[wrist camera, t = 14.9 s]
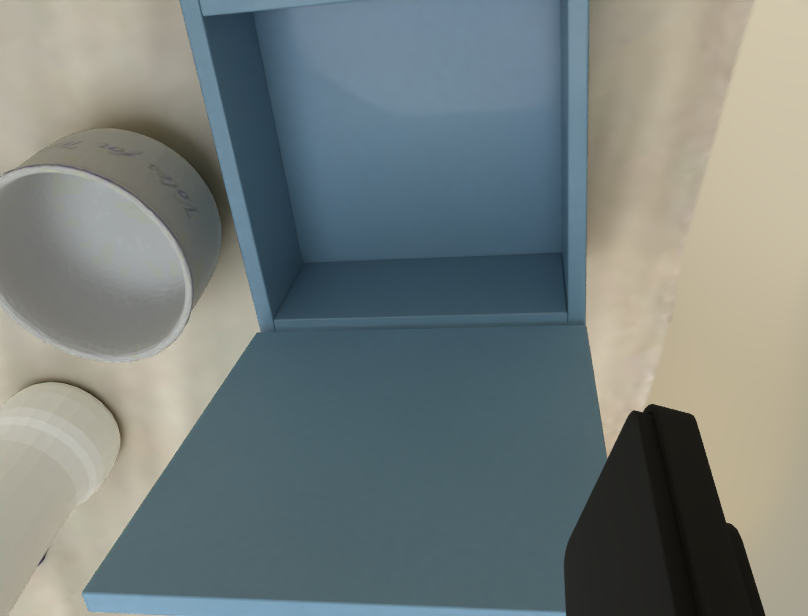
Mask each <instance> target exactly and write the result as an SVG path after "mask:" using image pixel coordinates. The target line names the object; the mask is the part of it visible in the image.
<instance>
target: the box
mask: <svg viewBox="0 0 808 616" xmlns="http://www.w3.org/2000/svg"><path fill="white" fill-rule="evenodd" d="M180 4H181V9H182V13H183V17H184V21H185V25H186V29H187V33H188V37H189V41H190V45H191V49H192V53H193V57H194V61H195V66H196V70H197V74H198V78H199V82H200V86H201V90H202V94H203V98H204V102H205V106H206V110H207V114H208V119H209V123H210V127H211V131H212V135H213V139H214V143H215V147H216V151H217V155H218V159H219V163H220V167H221V172H222V176H223V180H224V184H225V188H226V192H227V196H228V200H229V204H230V208H231V212H232V216H233V220H234V225H235V229H236V233H237V237H238V241H239V245H240V249H241V253H242V257H243V261H244V265H245V269H246V273H247V278H248V282H249V286H250V290H251V294H252V298H253V302H254V306H255V310H256V314H257V318H258V322H259V326H260V331H261V332H303V331H347V330H391V329H435V328H479V327H523V326H567V325H585V324H586V243H587V157H588V71H589V0H180Z"/></svg>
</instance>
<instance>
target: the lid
mask: <svg viewBox="0 0 808 616" xmlns="http://www.w3.org/2000/svg"><path fill="white" fill-rule="evenodd" d="M606 461H607V454H606V448H605V441H604V435H603V429H602V422H601V416H600V409H599V403H598V397H597V390H596V384H595V378H594V371H593V365H592V358H591V352H590V346H589V339H588V333H587V327H586V325H567V326H523V327H479V328H435V329H391V330H347V331H303V332H259V333H256V335H255V336H254V338H253V339H252V341H251V342H250V344H249V345H248V347H247V348H246V349H245V351H244V352H243V354H242V355H241V357H240V358H239V360H238V361H237V363H236V364H235V366H234V367H233V369H232V370H231V372H230V373H229V375H228V376H227V378H226V379H225V381H224V382H223V384H222V385H221V387H220V388H219V390H218V391H217V393H216V394H215V396H214V397H213V399H212V400H211V401H210V403H209V404H208V406H207V407H206V409H205V410H204V412H203V413H202V415H201V416H200V418H199V419H198V421H197V422H196V424H195V425H194V427H193V428H192V430H191V431H190V433H189V434H188V436H187V437H186V439H185V440H184V442H183V443H182V445H181V446H180V448H179V449H178V451H177V452H176V454H175V455H174V456H173V458H172V459H171V461H170V462H169V464H168V465H167V467H166V468H165V470H164V471H163V473H162V474H161V476H160V477H159V479H158V480H157V482H156V483H155V485H154V486H153V488H152V489H151V491H150V492H149V494H148V495H147V497H146V498H145V500H144V501H143V503H142V504H141V506H140V507H139V508H138V510H137V511H136V513H135V514H134V516H133V517H132V519H131V520H130V522H129V523H128V525H127V526H126V528H125V529H124V531H123V532H122V534H121V535H120V537H119V538H118V540H117V541H116V543H115V544H114V546H113V547H112V549H111V550H110V552H109V553H108V555H107V556H106V558H105V559H104V561H103V562H102V563H101V565H100V566H99V568H98V569H97V571H96V572H95V574H94V575H93V577H92V578H91V580H90V581H89V583H88V584H87V586H86V587H85V589H84V590H83V592H82V595H83V598H84V601H85V603H86V606H87V609H88V611H90V612H105V613H127V614H150V615H172V616H566V605H565V584H564V556H565V551H566V547H567V543H568V541H569V538H570V536H571V534H572V532H573V530H574V528H575V526H576V524H577V522H578V519H579V517H580V515H581V513H582V511H583V509H584V507H585V505H586V503H587V501H588V499H589V497H590V494H591V492H592V490H593V488H594V486H595V484H596V482H597V480H598V478H599V476H600V474H601V472H602V469H603V467H604V465H605V463H606Z"/></svg>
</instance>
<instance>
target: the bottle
mask: <svg viewBox="0 0 808 616" xmlns="http://www.w3.org/2000/svg"><path fill="white" fill-rule="evenodd" d="M119 451H120V433H119V429H118V425H117V423H116V421H115V419H114V417H113V415H112V414H111V412H110V411H109V410H108V409H107V408H106V407H105V406H104V404H103V403H102V402H100V401H99V400H98V399H96V398H95V397H94V396H92V395H91V394H89V393H87V392H85V391H84V390H82V389H80V388H78V387H75V386H71V385H68V384H65V383H56V382H47V383H40V384H35V385H31V386H29V387H27V388H25V389H23V390H21V391H19V392H18V393H16V394H15V395H13V396H12V397H11V398H9V399H8V401H7V402H6V403H5V404H4V405H3V406H2V407H1V408H0V616H8V615H9V613H10V612H11V610H12V608H13V607H14V605H15V603H16V602H17V600H18V598H19V597H20V595H21V593H22V591H23V590H24V588H25V586H26V585H27V583H28V581H29V580H30V578H31V576H32V575H33V573H34V571H35V569H36V568H37V566H38V564H39V563H40V561H41V559H42V558H43V556H44V554H45V553H46V551H47V549H48V547H49V546H50V544H51V542H52V541H53V539H54V537H55V536H56V534H57V532H58V531H59V529H60V527H61V526H62V524H63V523H64V521H65V520H66V519H67V517H68V516H69V514H70V513H71V511H72V510H73V509H74V508H75V507H76V506H78V505H79V504H81V503H83V502H85V501H86V500H87V499H88V498H89V497H90V496H92V495H93V494H94V493H95V492H96V491H97V490H98V489H99V488H100V487H101V485H102V484H103V482H104V480H105V479H106V477H107V476H108V474H109V473H110V471H111V469H112V467H113V466H114V464H115V461H116V459H117V456H118V453H119Z"/></svg>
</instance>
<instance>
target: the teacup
mask: <svg viewBox="0 0 808 616" xmlns="http://www.w3.org/2000/svg"><path fill="white" fill-rule="evenodd" d="M221 242H222V231H221V222H220V216H219V213H218V209H217V206H216V203H215V200H214V198H213V196H212V194H211V192H210V190H209V188H208V187H207V185H206V183H205V182H204V181H203V179H202V178H201V176H200V175H199V174H198V173H197V171H196V170H195V169H194V168H193V167H192V166H191V165H190V164H189V163H188V162H187V161H186V160H185V159H184V158H182V157H181V156H180V155H179V154H178V153H176V152H175V151H174V150H172V149H171V148H169V147H168V146H166V145H164V144H163V143H161V142H159V141H157V140H155V139H153V138H150V137H148V136H145V135H142V134H139V133H136V132H132V131H127V130H121V129H115V128H100V129H89V130H85V131H80V132H77V133H73V134H71V135H68V136H66V137H64V138H62V139H60V140H58V141H56V142H54V143H52V144H50V145H49V146H47V147H46V148H44V149H43V150H41V151H39V152H38V153H37V154H35V155H34V156H32V157H31V158H30V159H28V160H27V161H25V162H24V163H23V164H21V165H20V166H19V167H17V168H16V169H14V170H11V171H8V172H6V173H5V174H3V175H2V176H0V306H1V307H2V308H3V309H4V311H5V312H6V313H7V314H8V315H9V316H10V317H11V318H12V319H14V320H15V321H16V322H17V323H18V324H19V325H21V326H22V327H23V328H24V329H26V330H27V331H29V332H30V333H31V334H33V335H34V336H36V337H38V338H39V339H41V340H42V341H43V342H45V343H48V344H50V345H51V346H53V347H55V348H57V349H60V350H62V351H64V352H67V353H70V354H73V355H75V356H78V357H81V358H85V359H89V360H95V361H102V362H111V363H115V362H130V361H136V360H140V359H143V358H147V357H150V356H152V355H155V354H157V353H159V352H160V351H162V350H164V349H165V348H167V347H168V346H169V345H170V344H172V343H173V342H174V341H175V340H176V339H177V338H178V336H179V335H180V334H181V332H182V331H183V329H184V327H185V326H186V324H187V322H188V320H189V317H190V314H191V311H192V309H193V308H194V306H195V305H196V303H197V301H198V300H199V298H200V297H201V295H202V293H203V291H204V289H205V288H206V286H207V284H208V282H209V280H210V278H211V276H212V274H213V272H214V270H215V267H216V264H217V262H218V258H219V254H220V250H221Z"/></svg>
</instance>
